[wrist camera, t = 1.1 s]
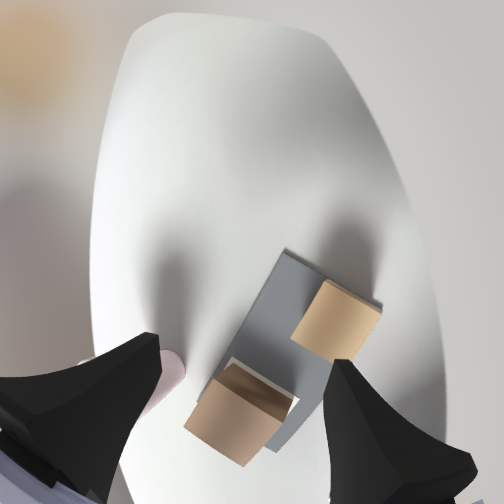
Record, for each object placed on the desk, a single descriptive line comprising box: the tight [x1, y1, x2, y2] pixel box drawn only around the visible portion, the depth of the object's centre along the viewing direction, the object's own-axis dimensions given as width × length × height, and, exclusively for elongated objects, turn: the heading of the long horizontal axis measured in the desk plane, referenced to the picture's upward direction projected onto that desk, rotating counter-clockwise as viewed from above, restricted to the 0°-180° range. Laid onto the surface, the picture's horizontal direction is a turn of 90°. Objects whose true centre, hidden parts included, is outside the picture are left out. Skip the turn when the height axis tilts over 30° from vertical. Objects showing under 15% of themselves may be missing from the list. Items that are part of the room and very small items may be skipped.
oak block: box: [290, 279, 382, 364], centre depth 18 cm, size 4×4×5 cm
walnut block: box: [183, 363, 293, 467], centre depth 20 cm, size 6×6×4 cm
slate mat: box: [197, 253, 383, 453], centre depth 21 cm, size 9×16×1 cm, turn 150°
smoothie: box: [78, 350, 185, 433], centre depth 18 cm, size 6×6×14 cm
